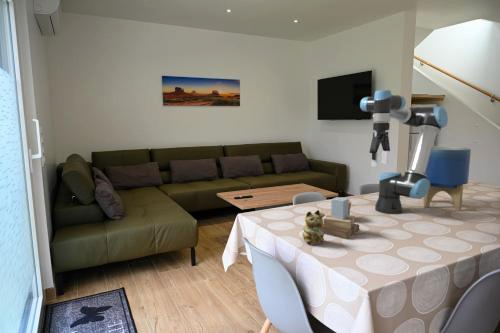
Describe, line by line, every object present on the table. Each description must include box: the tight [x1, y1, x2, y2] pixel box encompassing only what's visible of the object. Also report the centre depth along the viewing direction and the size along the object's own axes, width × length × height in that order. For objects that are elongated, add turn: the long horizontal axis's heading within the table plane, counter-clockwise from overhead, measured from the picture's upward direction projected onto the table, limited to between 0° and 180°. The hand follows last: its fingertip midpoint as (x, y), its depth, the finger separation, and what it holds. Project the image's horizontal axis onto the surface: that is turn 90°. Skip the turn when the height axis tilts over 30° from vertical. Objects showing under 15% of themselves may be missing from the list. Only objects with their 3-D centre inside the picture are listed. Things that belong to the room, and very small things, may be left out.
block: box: [330, 196, 350, 220], centre depth 158 cm, size 6×6×9 cm
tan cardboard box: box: [320, 223, 360, 240], centre depth 160 cm, size 14×14×4 cm
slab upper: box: [323, 212, 356, 231], centre depth 159 cm, size 12×12×4 cm
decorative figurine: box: [302, 209, 326, 246], centre depth 146 cm, size 10×8×15 cm
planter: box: [422, 145, 472, 212], centre depth 205 cm, size 26×26×37 cm
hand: (379, 165), depth 164 cm, fingers open, 13 cm apart
